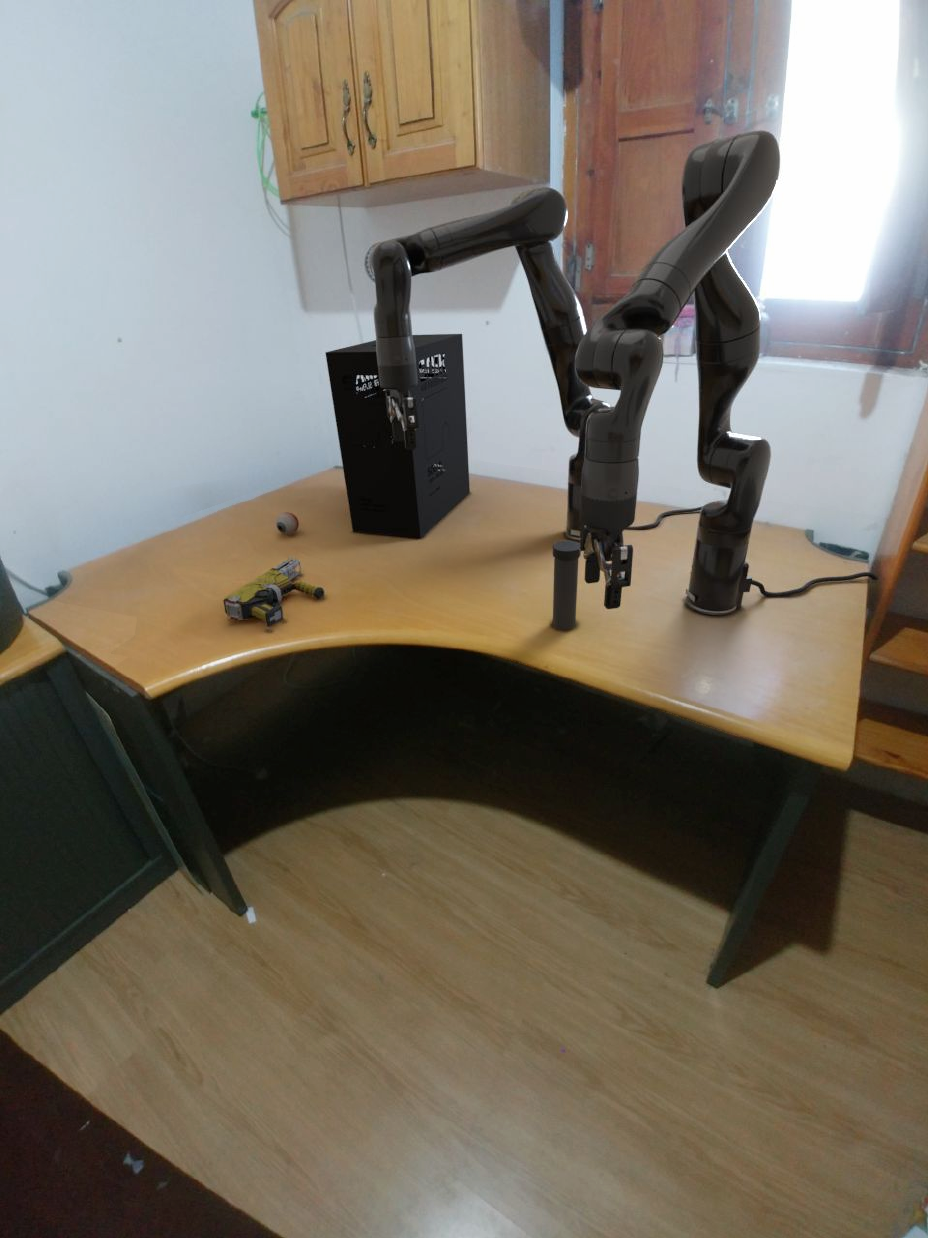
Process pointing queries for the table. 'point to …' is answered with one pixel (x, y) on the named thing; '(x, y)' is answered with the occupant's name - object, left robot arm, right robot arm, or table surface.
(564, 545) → the lid
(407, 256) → the left robot arm
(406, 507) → the cardboard box
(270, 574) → the toy gun
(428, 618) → the table surface
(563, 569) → the grey cylindrical tube
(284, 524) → the eyeball
